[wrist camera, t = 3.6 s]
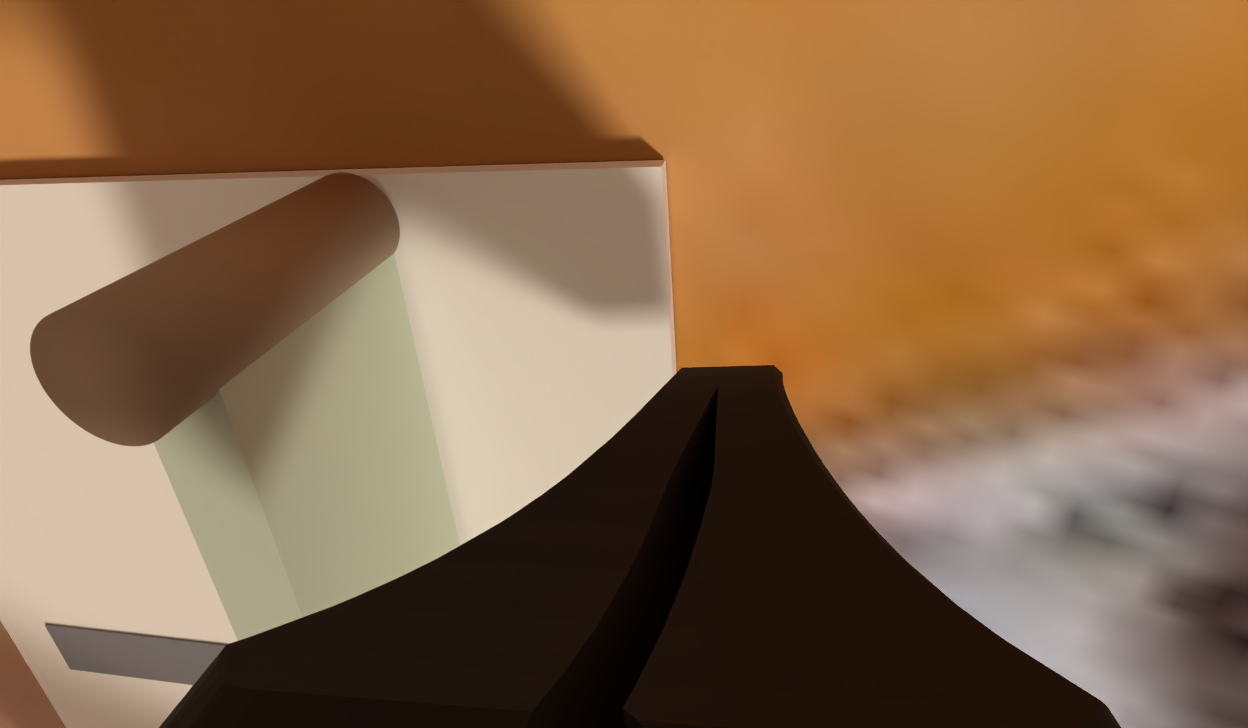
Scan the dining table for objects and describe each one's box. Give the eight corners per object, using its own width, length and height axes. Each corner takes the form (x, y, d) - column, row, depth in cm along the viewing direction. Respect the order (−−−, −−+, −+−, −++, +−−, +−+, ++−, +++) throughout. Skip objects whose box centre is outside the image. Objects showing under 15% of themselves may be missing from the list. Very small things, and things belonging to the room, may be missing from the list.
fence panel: (497, 673, 17) (388, 934, 13) (429, 665, 17) (299, 918, 13) (387, 171, 12) (140, 310, 7) (294, 173, 12) (3, 308, 8)
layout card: (706, 949, 22) (704, 968, 21) (157, 850, 26) (147, 864, 25) (665, 159, 12) (660, 167, 11) (-238, 186, 15) (-266, 193, 15)
